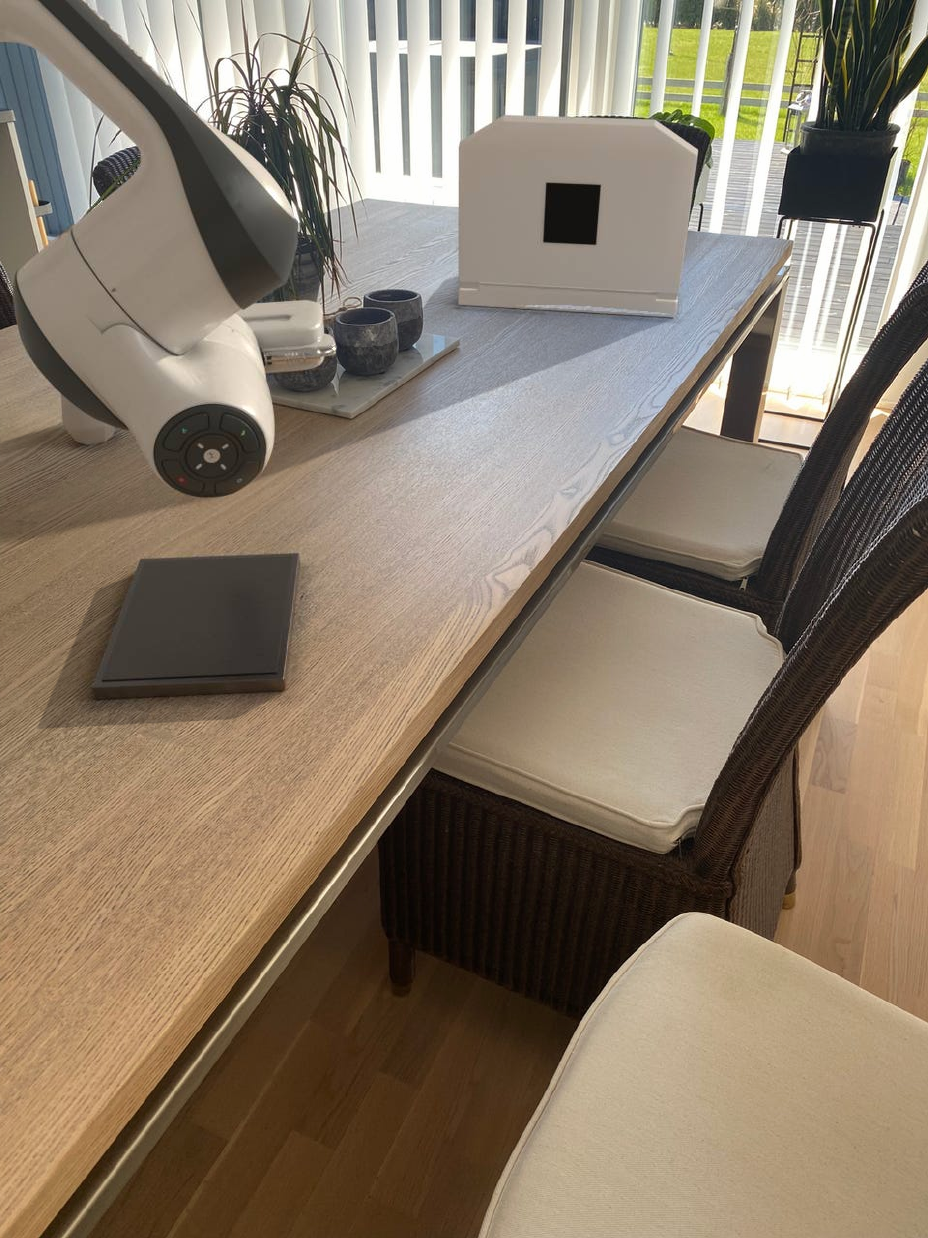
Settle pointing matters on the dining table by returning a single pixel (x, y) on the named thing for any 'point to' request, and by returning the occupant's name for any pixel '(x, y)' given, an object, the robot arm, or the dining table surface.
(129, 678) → the tablet
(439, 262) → the dining table surface
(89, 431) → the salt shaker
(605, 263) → the white chamfered box
